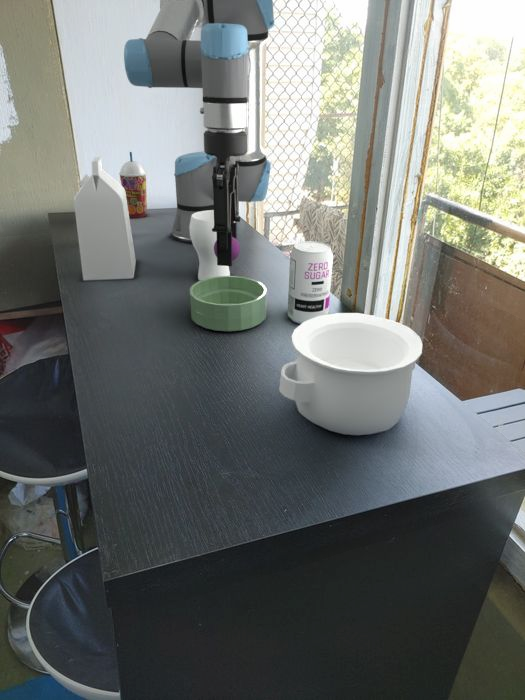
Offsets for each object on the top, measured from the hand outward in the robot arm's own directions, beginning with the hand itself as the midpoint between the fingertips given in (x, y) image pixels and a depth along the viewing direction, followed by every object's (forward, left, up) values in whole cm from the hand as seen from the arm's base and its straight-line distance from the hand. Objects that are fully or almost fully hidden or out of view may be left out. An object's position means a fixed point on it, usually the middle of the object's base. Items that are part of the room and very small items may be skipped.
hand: (227, 260), depth 101 cm
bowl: (0, 0, -12) cm, 12 cm away
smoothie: (-73, -43, -12) cm, 86 cm away
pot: (+30, +23, -12) cm, 40 cm away
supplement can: (-2, +16, -12) cm, 20 cm away
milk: (-22, -33, -12) cm, 41 cm away
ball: (0, 0, 0) cm, 0 cm away
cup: (-21, -7, -12) cm, 25 cm away
